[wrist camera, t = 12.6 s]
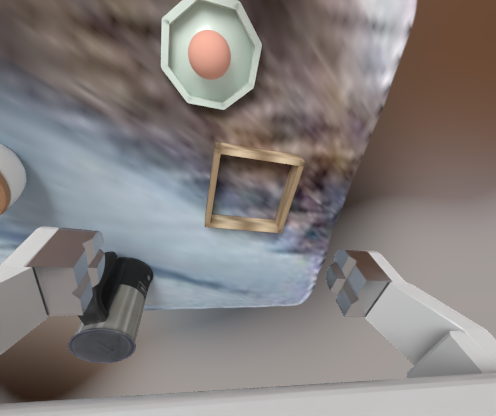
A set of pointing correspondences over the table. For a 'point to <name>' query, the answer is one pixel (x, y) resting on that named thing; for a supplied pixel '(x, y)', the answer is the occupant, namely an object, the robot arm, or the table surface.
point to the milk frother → (113, 312)
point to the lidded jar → (10, 178)
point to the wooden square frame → (287, 195)
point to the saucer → (234, 32)
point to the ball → (209, 54)
